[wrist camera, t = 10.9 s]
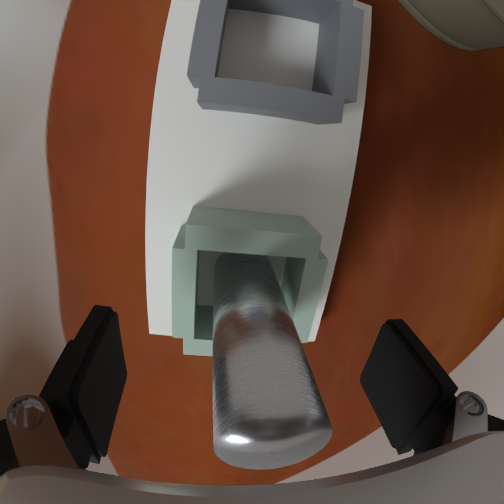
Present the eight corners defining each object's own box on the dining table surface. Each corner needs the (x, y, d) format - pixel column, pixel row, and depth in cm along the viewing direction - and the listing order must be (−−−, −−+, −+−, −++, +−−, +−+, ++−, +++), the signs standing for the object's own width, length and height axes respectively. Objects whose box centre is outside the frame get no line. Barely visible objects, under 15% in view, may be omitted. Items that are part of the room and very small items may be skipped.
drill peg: (281, 280, 16) (345, 443, 7) (232, 306, 16) (249, 477, 7) (255, 234, 15) (309, 394, 6) (202, 262, 15) (189, 437, 6)
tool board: (308, 327, 19) (328, 374, 15) (153, 319, 18) (139, 368, 14) (360, 14, 12) (399, -13, 8) (182, -16, 11) (171, -58, 6)
